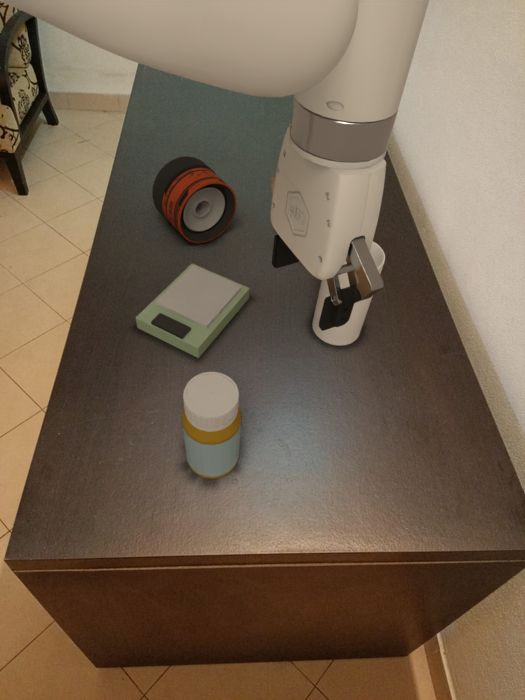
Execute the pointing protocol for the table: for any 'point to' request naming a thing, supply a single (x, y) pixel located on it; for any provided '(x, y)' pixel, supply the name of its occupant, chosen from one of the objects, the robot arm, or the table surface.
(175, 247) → the table surface
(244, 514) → the table surface
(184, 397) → the bottle
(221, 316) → the scale
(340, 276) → the cup
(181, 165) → the oil filter
